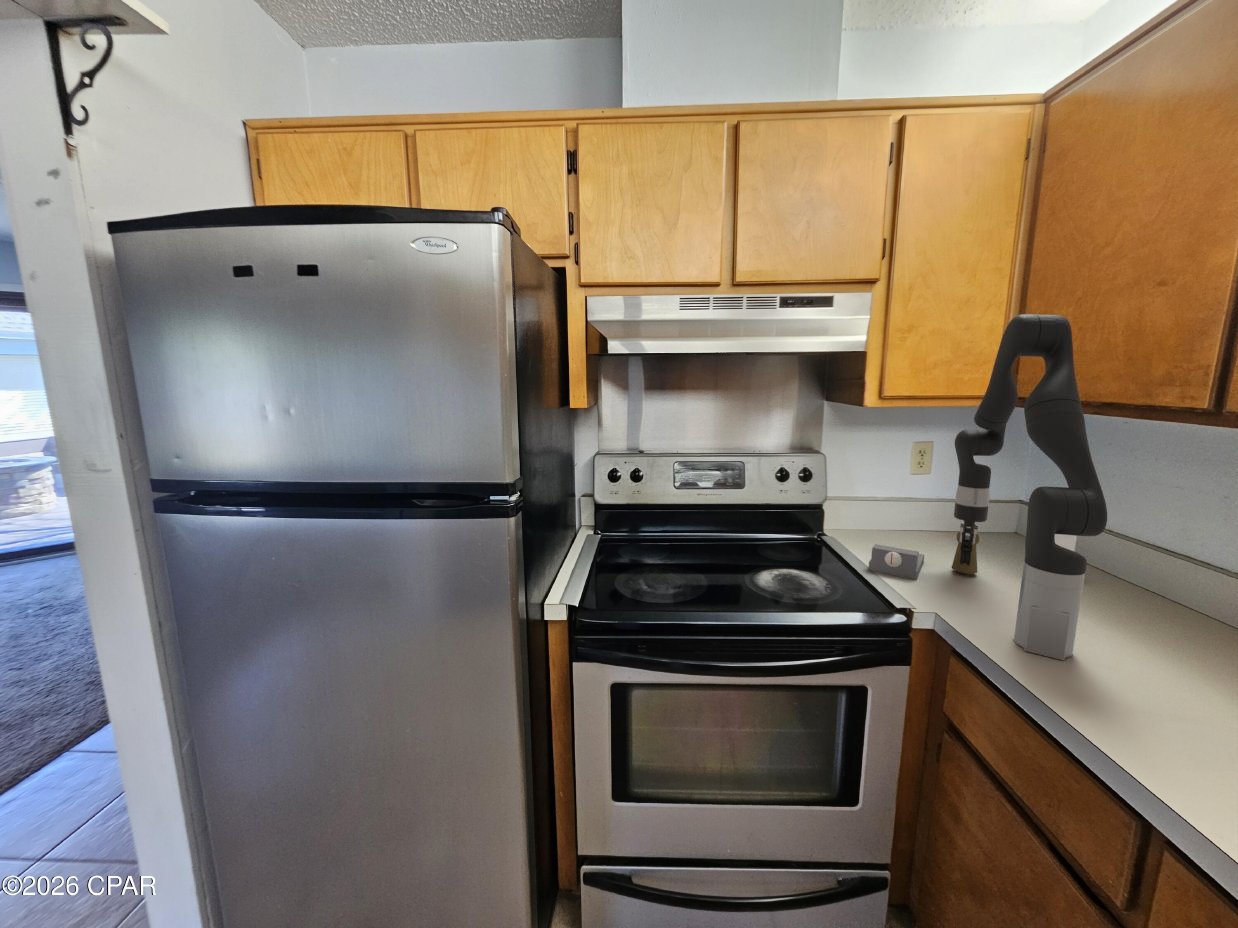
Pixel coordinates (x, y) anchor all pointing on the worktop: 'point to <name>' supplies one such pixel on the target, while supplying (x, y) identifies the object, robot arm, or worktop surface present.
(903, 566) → the knob on square plate
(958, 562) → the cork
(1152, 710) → the worktop surface
